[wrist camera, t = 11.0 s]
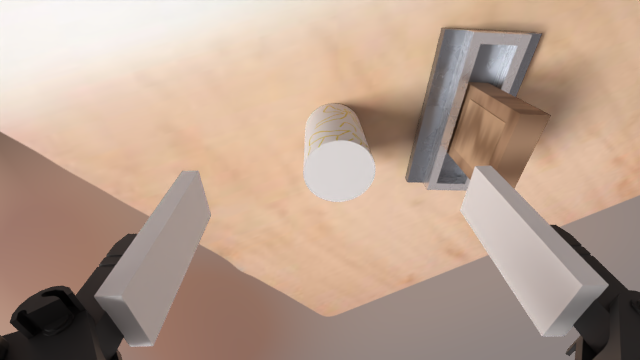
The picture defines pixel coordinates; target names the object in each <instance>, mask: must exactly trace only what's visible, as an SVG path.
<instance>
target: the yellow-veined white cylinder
mask: <svg viewBox="0 0 640 360" xmlns="http://www.w3.org/2000/svg"><path fill="white" fill-rule="evenodd" d="M303 174H304V180H305V183H306V185H307V187H308V188H309V189H310V191H311V192H312V193H313V194H315V195H316V196H318V197H319V198H321V199H324V200H327V201H332V202H343V201H348V200H351V199H354V198H356V197H358V196H360V195H361V194H363V193H364V192H365V191H366V190H367V189H368V188H369V187H370V185H371V184H372V182H373V179H374V176H375V163H374V160H373V157H372V154H371V152H370V149H369V146H368V143H367V141H366V138H365V135H364V133H363V130H362V127H361V124H360V122H359V119H358V117H357V115H356V114H355V113H354V112H353V111H352V110H351V109H350V108H348V107H347V106H344V105H342V104H335V103H332V104H326V105H323V106H321V107H319V108H317V109H316V110H315V111H313V112H312V114H311V115H310V116H309V118H308V120H307V123H306V127H305V148H304V171H303Z"/></svg>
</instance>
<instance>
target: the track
mask: <svg viewBox="0 0 640 360" xmlns="http://www.w3.org/2000/svg"><path fill="white" fill-rule="evenodd" d="M541 35H542V34H541V33H535V32H514V31H493V30H472V29H451V28H442V29H441V33H440V37H439V41H438V45H437V49H436V53H435V57H434V62H433V66H432V70H431V74H430V78H429V82H428V86H427V90H426V95H425V99H424V103H423V107H422V111H421V115H420V119H419V123H418V128H417V132H416V136H415V140H414V144H413V148H412V152H411V156H410V161H409V165H408V169H407V173H406V177H405V179H406V181H407V182H422V183H423V184H424V185H425V187H426V189H427V190H466V191H467V189H468V186H469V183H470V179H469V178H468V177H467V176H466V174H465V173H464V172H463V171H462V170H461V168H460V167H459V166H458V165H457V164H456V163H455V161H454V160H453V159H452V158H451V157H450V155H449V154H448V153H447V149H448V146H449V142H450V139H451V136H452V133H453V130H454V127H455V123H456V120H457V117H458V114H459V111H460V108H461V104H462V101H463V98H464V95H465V92H466V89H467V85H468V82H480V83H489V84H491V85H493V86H495V87H497V88H499V89H501V90H503V91H505V92H507V93H509V94H511V95H512V96H514V97H516V95H517V93H518V90H519V88H520V86H521V83H522V81H523V78H524V76H525V73H526V71H527V69H528V66H529V64H530V61H531V59H532V57H533V54H534V52H535V49H536V47H537V44H538V42H539V40H540V37H541Z"/></svg>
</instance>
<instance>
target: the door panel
mask: <svg viewBox="0 0 640 360" xmlns="http://www.w3.org/2000/svg"><path fill="white" fill-rule="evenodd" d="M550 116H551V115H549V114H547V113H545V112H543V111H541V110H539V109H537V108H536V107H534V106H532V105H530V104H528V103H526V102H524V101H522V100H520V99H518V98H516V97H514V96H512V95H511V94H509V93H507V92H505V91H503V90H501V89H499V88H497V87H495V86H493V85H491V84H489V83H480V82H468V85H467V89H466V92H465V95H464V98H463V101H462V104H461V108H460V111H459V114H458V117H457V120H456V123H455V127H454V130H453V133H452V136H451V139H450V142H449V146H448V149H447V153H448V154H449V155H450V157H451V158H452V159H453V160H454V161H455V163H456V164H457V165H458V166H459V167H460V168H461V170H462V171H463V172H464V173H465V174H466V176H467V177H468V178H469V179H470V180H471V177H472V174H473V171H474V168H475V166H492V167H493V168H494V169H495V170H496V171H497V172H498V173H499V174H500V175H501V176H502V177H503V178H504V179H505V180H506V181H507V182H508V183H509V184H510V185H511V186H512V187H513V188H515V186H516V184H517V182H518V180H519V178H520V176H521V174H522V172H523V170H524V168H525V166H526V164H527V162H528V160H529V158H530V156H531V154H532V152H533V150H534V148H535V146H536V144H537V142H538V140H539V138H540V136H541V134H542V132H543V130H544V128H545V126H546V124H547V122H548V120H549V118H550Z"/></svg>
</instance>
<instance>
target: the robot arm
mask: <svg viewBox="0 0 640 360" xmlns="http://www.w3.org/2000/svg"><path fill="white" fill-rule="evenodd" d="M460 211H461V213H462V214H463V216H464V217H465V219H466V220H467V222H468V224H469V225H470V227H471V228H472V230H473V231H474V233H475V234H476V236H477V237H478V239H479V240H480V242H481V243H482V245H483V246H484V248H485V250H486V251H487V253H488V254H489V256H490V257H491V259H492V260H493V262H494V263H495V265H496V266H497V268H498V269H499V271H500V272H501V274H502V276H503V277H504V279H505V280H506V282H507V283H508V285H509V286H510V288H511V289H512V291H513V292H514V294H515V295H516V297H517V298H518V300H519V302H520V303H521V305H522V306H523V308H524V309H525V311H526V312H527V314H528V315H529V317H530V318H531V320H532V321H533V323H534V325H535V326H536V328H537V329H538V331H539V332H540V334H541V335H542V336H565V335H566V334H567V333H568V331H569V330H570V329H571V328H572V327H573V326H574V327H575V328H576V330H577V331H578V332H579V333H580V337H579V338H578V339H577V340H576V341H575V342H574V343H573V344H572V345H571V346H570V347H569V348H568V350H567V352H566V354H567V355H569V356H570V355H571V354H572V353H573V352H574V351H576V353H575V360H640V292H637V291H630V290H628V289H627V288H625V286H624V285H622V284H621V283H620V282H619V281H618V280H617V279H616V278H615V277H614V276H613V275H612V274H611V273H610V272H609V271H608V270H607V269H606V268H605V267H604V266H603V265H602V264H601V263H600V262H599V261H598V260H597V259H596V258H595V257H593V256H591V255H590V253H589V252H588V251H587V250H586V249H585V248H584V247H582V246H581V244H580V243H579V242H578V241H577V240H576V239H575V238H574V237H573V236H572V235H571V234H569V233H568V232H566V231H565V230H563V229H561V228H560V227H558V226H557V225H549V224H548V223H547V222H546V221H545V220H544V219H543V218H542V217H541V216H540V215H539V214H538V213H537V212H536V211H535V210H534V209H533V208H532V207H531V206H530V205H529V204H528V203H527V202H526V201H525V199H524V198H523V197H522V196H521V195H520V194H519V193H518V192H517V191H516V190H515V189H514V188H513V187H512V186H511V185H510V184H509V183H508V182H507V181H506V180H505V179H504V178H503V177H502V176H501V175H500V174H499V173H498V172H497V171H496V170H495V169H494V168H493V167H492V166H475V168H474V171H473V174H472V177H471V180H470V183H469V186H468V189H467V192H466V195H465V198H464V201H463V203H462V206H461V209H460ZM210 217H211V213H210V209H209V206H208V202H207V199H206V195H205V192H204V188H203V185H202V181H201V178H200V174H199V171H182V172H181V173H180V175H179V176H178V178H177V179H176V180H175V182H174V183H173V185H172V186H171V187H170V189H169V190H168V192H167V193H166V195H165V196H164V197H163V199H162V200H161V202H160V203H159V205H158V206H157V207H156V209H155V210H154V212H153V213H152V214H151V216H150V217H149V219H148V220H147V222H146V223H145V224H144V226H143V227H142V229H141V230H140V232H139V233H138V234H127V235H126V236H125V237H123V238H122V239H121V240H120V241H118V242H117V243H116V244H115V245H114V246H113V247H112V249H111V250H110V251H109V253H108V254H107V257H105V258H104V259H103V261H102V262H101V263H100V264H99V267H97V268H96V270H95V271H94V272H93V273H92V275H91V276H90V277H89V279H88V280H87V281H86V283H85V284H84V285H83V287H82V288H81V289H80V290H79V292H78V293H77V294H76V296H75V295H74V294H73V292H72V291H71V289H70V288H69V287H65V286H55V287H50V288H48V289H45V290H42V291H40V292H38V293H36V294H34V295H33V296H31V297H29V298H28V299H27V300H26V301H25V302H23V303H22V304H21V305H20V306H19V307H18V308H17V309H16V310H15V312H14V313H13V314H12V317H11V320H10V323H11V324H12V325H13V326H14V327H15V328H16V329H17V330H18V331H17V332H14V333H11V334H7V335H4V336H1V335H0V360H122V357H121V354H120V352H119V351H118V347H119V345H120V343H121V341H122V339H123V338H124V339H125V340H126V341H127V343H128V344H129V345H130V347H131V346H153V345H154V343H155V341H156V339H157V336H158V334H159V332H160V330H161V328H162V325H163V323H164V321H165V319H166V316H167V314H168V311H169V309H170V307H171V305H172V302H173V300H174V298H175V296H176V294H177V291H178V289H179V287H180V285H181V282H182V280H183V278H184V275H185V273H186V271H187V269H188V266H189V264H190V262H191V260H192V258H193V255H194V253H195V251H196V248H197V246H198V244H199V242H200V239H201V237H202V235H203V233H204V230H205V228H206V226H207V224H208V221H209V219H210Z"/></svg>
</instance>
